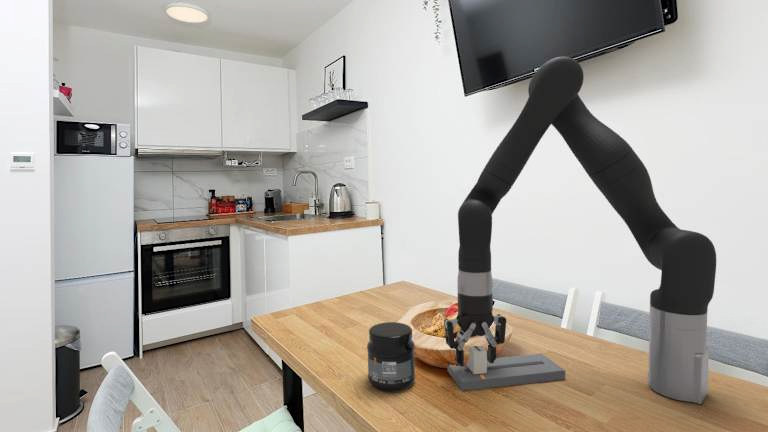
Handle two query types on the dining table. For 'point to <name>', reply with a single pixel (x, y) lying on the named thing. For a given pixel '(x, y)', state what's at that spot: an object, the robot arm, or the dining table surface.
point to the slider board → (508, 372)
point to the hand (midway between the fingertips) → (475, 363)
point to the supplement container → (391, 357)
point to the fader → (477, 360)
